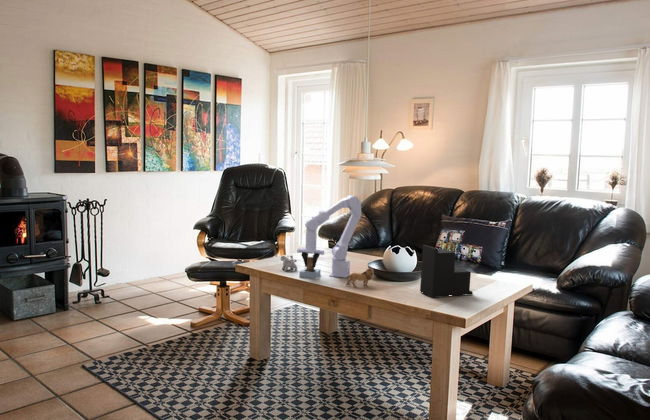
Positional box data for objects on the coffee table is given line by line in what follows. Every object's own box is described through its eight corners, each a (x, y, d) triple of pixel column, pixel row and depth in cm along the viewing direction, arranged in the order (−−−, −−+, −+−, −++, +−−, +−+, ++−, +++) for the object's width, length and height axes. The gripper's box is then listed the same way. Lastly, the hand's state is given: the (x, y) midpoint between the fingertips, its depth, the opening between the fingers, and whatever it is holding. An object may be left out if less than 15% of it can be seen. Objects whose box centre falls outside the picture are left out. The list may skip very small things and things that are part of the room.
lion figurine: (371, 284, 269) (371, 267, 268) (375, 286, 264) (375, 269, 263) (343, 285, 265) (344, 267, 264) (347, 288, 260) (347, 270, 259)
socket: (320, 274, 287) (320, 269, 287) (315, 278, 278) (315, 272, 278) (304, 273, 289) (304, 268, 289) (299, 276, 281) (299, 271, 280)
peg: (314, 271, 285) (315, 257, 284) (312, 273, 281) (313, 258, 280) (307, 271, 286) (307, 256, 285) (305, 272, 282) (305, 257, 281)
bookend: (459, 289, 264) (462, 243, 262) (473, 295, 254) (476, 246, 252) (419, 292, 256) (421, 244, 253) (431, 298, 246) (434, 248, 243)
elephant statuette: (287, 272, 291) (288, 259, 290) (273, 267, 300) (274, 254, 299) (300, 270, 298) (301, 257, 297) (286, 266, 306) (286, 253, 305)
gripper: (326, 241, 284) (325, 266, 285) (300, 239, 288) (299, 264, 289) (322, 243, 277) (321, 269, 278) (296, 241, 281) (295, 266, 282)
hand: (310, 266), depth 283 cm, fingers closed on peg, 4 cm apart
